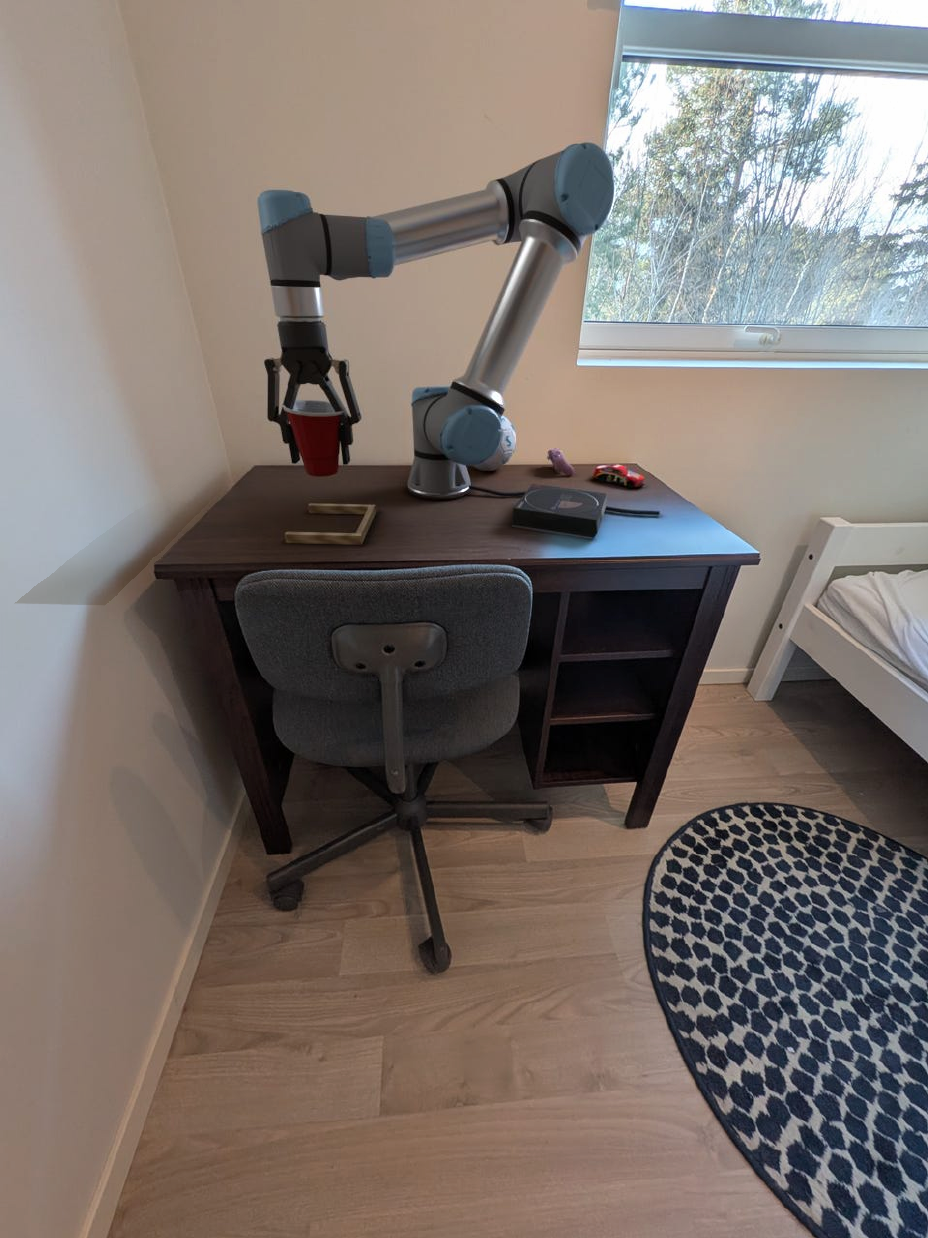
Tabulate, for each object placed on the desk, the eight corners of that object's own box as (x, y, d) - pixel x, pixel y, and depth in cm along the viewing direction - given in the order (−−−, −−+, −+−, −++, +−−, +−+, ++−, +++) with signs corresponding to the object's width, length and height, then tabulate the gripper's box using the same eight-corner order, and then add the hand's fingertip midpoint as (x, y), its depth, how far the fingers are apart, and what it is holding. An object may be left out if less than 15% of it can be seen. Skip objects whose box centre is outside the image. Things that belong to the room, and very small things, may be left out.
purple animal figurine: (551, 471, 136) (542, 448, 132) (566, 463, 135) (558, 440, 131) (560, 482, 128) (551, 458, 124) (576, 474, 127) (567, 450, 123)
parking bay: (376, 512, 103) (375, 504, 102) (361, 544, 89) (360, 535, 88) (310, 511, 103) (309, 503, 102) (286, 543, 89) (284, 534, 88)
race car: (647, 485, 122) (650, 469, 120) (638, 490, 118) (641, 474, 116) (600, 474, 129) (602, 459, 127) (590, 479, 125) (593, 463, 123)
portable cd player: (596, 539, 93) (599, 520, 91) (511, 526, 98) (513, 507, 96) (605, 511, 106) (608, 493, 104) (530, 500, 111) (532, 483, 109)
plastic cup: (338, 483, 85) (329, 411, 78) (282, 478, 86) (269, 407, 80) (361, 466, 94) (355, 400, 87) (310, 462, 95) (300, 397, 89)
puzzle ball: (511, 479, 124) (515, 418, 116) (454, 475, 126) (454, 414, 118) (516, 463, 136) (520, 407, 128) (464, 460, 138) (465, 404, 130)
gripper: (371, 320, 80) (382, 457, 92) (243, 317, 80) (271, 455, 92) (363, 322, 73) (375, 469, 86) (224, 318, 73) (256, 466, 86)
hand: (321, 461), depth 89 cm, fingers closed on plastic cup, 9 cm apart
